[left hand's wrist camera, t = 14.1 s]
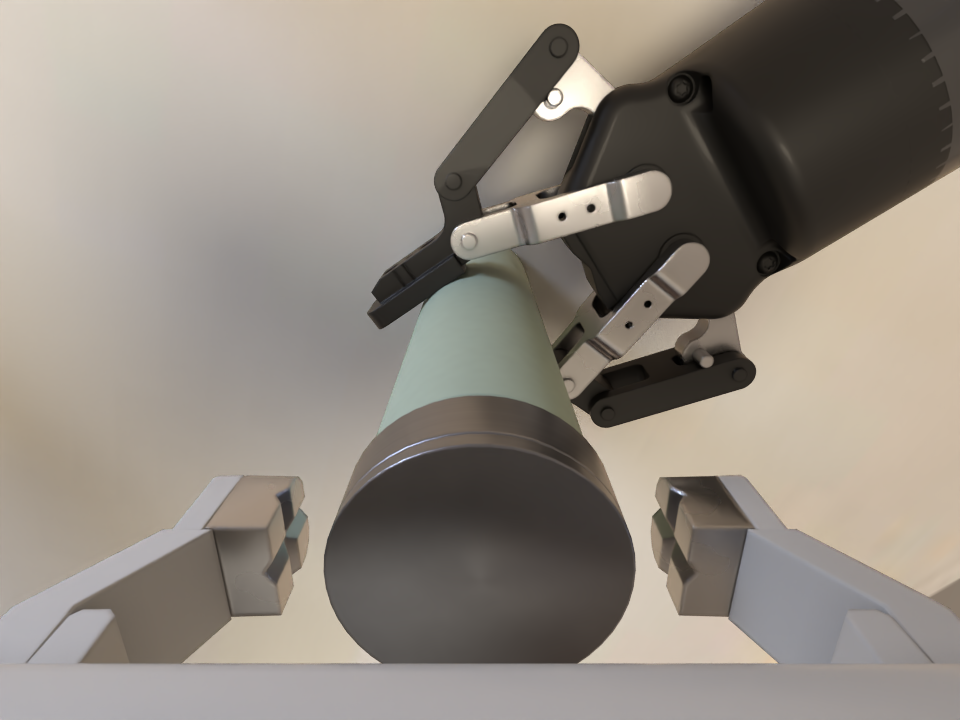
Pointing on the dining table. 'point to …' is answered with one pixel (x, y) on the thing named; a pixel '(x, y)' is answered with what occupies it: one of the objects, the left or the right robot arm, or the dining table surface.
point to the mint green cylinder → (481, 344)
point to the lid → (479, 540)
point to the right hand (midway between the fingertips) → (421, 369)
